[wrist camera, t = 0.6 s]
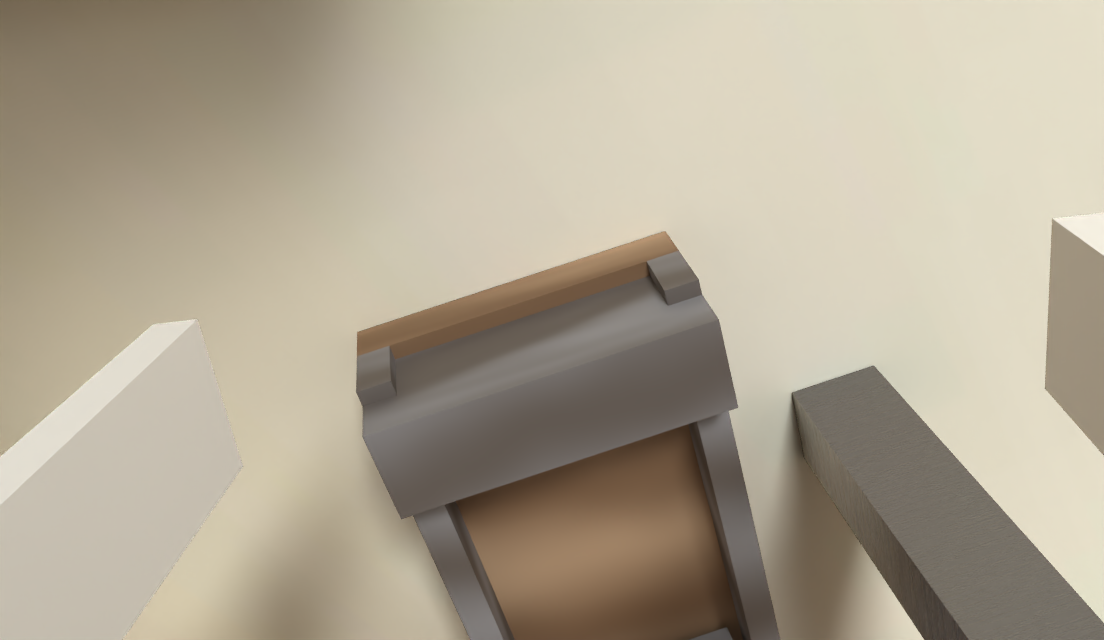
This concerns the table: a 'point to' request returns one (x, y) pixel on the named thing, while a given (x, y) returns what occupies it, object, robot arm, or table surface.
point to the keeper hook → (931, 520)
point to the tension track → (591, 505)
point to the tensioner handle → (715, 635)
